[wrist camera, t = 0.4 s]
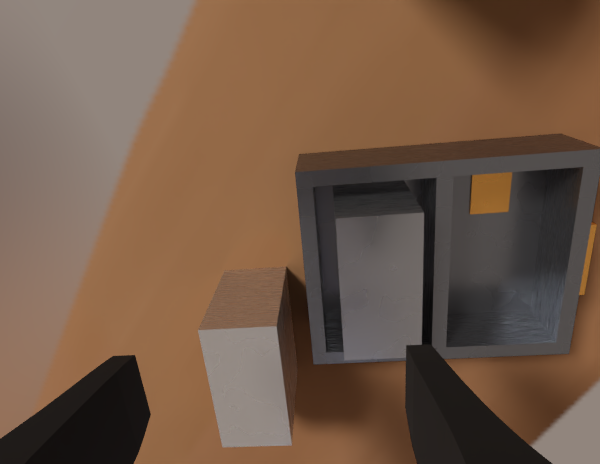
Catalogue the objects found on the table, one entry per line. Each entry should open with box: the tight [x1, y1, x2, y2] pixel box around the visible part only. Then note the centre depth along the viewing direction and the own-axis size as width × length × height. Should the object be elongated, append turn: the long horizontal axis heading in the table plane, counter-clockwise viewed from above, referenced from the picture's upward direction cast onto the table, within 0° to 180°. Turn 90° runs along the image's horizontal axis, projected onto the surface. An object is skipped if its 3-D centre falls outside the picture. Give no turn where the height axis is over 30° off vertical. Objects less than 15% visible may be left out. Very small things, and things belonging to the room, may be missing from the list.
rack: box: [295, 134, 600, 364], centre depth 18 cm, size 9×11×4 cm
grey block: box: [198, 267, 298, 447], centre depth 20 cm, size 6×3×5 cm, turn 5°
